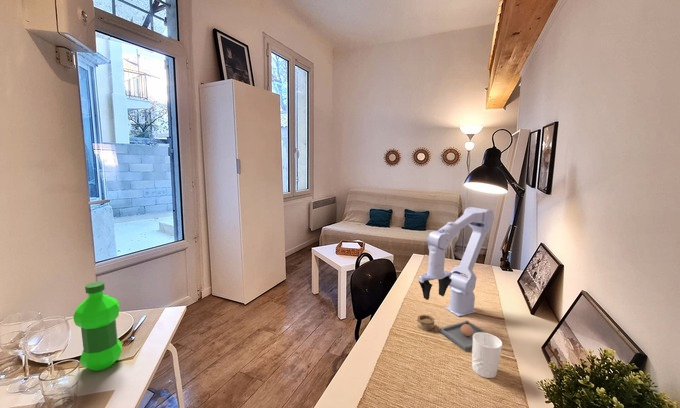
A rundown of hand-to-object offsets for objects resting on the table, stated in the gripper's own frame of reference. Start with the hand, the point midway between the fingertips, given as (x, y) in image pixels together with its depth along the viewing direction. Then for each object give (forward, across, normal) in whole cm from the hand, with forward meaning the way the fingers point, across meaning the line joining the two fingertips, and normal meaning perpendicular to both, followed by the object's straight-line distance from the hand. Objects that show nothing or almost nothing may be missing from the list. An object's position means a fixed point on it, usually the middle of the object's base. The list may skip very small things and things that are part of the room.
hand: (433, 297), depth 116 cm
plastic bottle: (+10, +108, -19) cm, 110 cm away
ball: (+9, -4, +13) cm, 17 cm away
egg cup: (+10, +5, +2) cm, 11 cm away
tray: (+10, -4, +13) cm, 17 cm away
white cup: (+10, +5, +28) cm, 30 cm away
